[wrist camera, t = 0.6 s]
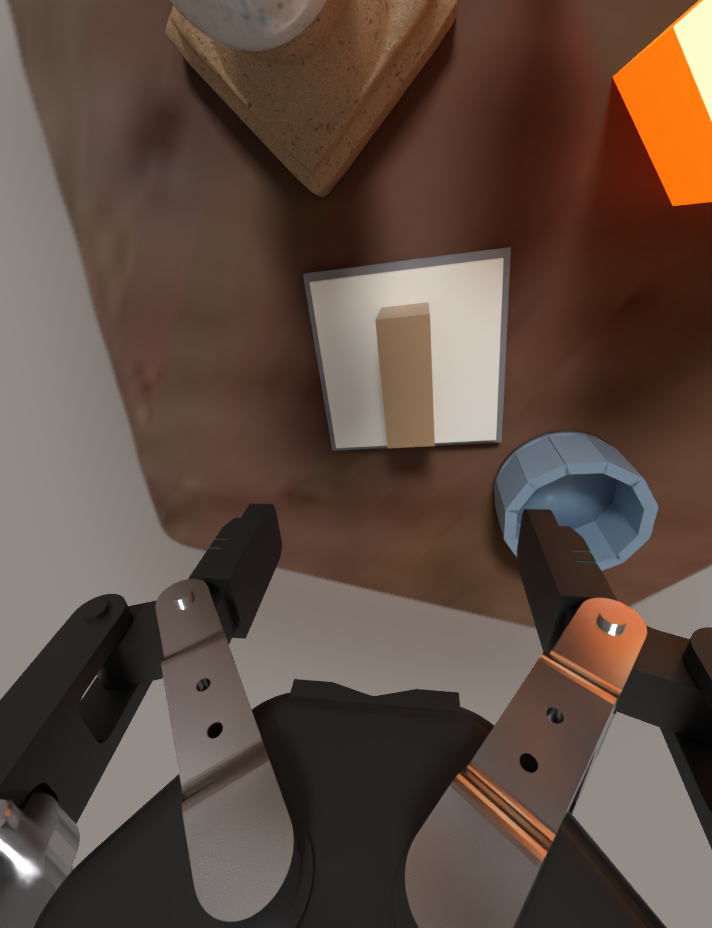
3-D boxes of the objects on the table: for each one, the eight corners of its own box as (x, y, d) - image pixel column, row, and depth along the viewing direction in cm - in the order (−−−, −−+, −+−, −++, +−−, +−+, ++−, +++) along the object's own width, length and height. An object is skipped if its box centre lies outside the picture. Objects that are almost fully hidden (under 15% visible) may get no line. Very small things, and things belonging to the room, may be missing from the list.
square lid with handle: (501, 257, 25) (519, 262, 21) (494, 436, 31) (507, 470, 26) (311, 281, 27) (290, 290, 23) (337, 444, 33) (324, 477, 29)
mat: (508, 247, 26) (510, 247, 25) (499, 437, 32) (501, 442, 31) (305, 273, 28) (302, 274, 27) (334, 446, 34) (332, 450, 33)
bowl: (634, 426, 30) (671, 459, 26) (612, 532, 34) (639, 576, 30) (495, 434, 32) (508, 466, 27) (491, 534, 36) (501, 575, 32)
